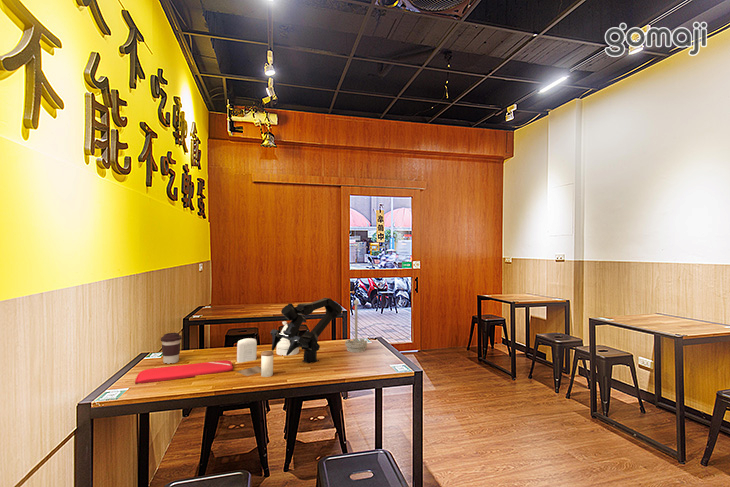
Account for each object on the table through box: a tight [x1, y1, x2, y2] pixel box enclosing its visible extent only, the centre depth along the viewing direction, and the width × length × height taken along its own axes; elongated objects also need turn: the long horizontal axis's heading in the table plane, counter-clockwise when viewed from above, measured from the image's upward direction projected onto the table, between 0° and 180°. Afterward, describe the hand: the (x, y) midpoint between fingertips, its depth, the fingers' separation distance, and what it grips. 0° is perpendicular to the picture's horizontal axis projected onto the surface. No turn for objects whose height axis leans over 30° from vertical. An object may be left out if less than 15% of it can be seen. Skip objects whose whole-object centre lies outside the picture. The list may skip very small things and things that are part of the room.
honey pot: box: [275, 320, 300, 357], centre depth 219 cm, size 13×13×18 cm
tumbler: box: [260, 350, 274, 378], centre depth 176 cm, size 6×6×11 cm
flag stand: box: [344, 299, 368, 353], centre depth 225 cm, size 13×13×30 cm
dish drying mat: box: [134, 359, 234, 385], centre depth 180 cm, size 16×41×4 cm, turn 113°
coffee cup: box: [160, 332, 183, 365], centre depth 200 cm, size 10×10×15 cm
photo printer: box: [236, 337, 258, 363], centre depth 200 cm, size 10×4×12 cm, turn 123°
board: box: [235, 365, 261, 377], centre depth 182 cm, size 12×10×1 cm
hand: (279, 352), depth 183 cm, fingers open, 9 cm apart
